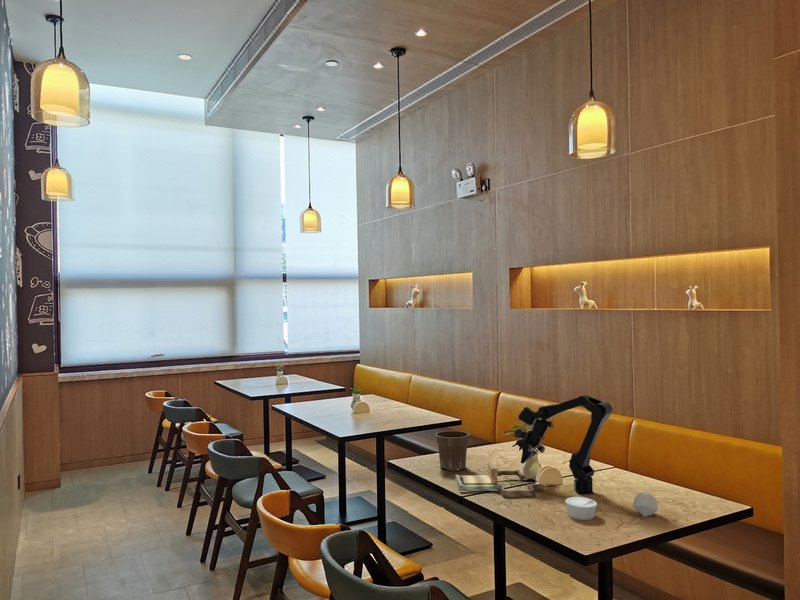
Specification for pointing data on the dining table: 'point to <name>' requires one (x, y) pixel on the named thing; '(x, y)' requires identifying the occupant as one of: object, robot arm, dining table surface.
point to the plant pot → (452, 449)
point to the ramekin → (581, 508)
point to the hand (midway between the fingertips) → (521, 463)
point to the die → (645, 504)
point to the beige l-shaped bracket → (483, 477)
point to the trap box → (505, 493)
